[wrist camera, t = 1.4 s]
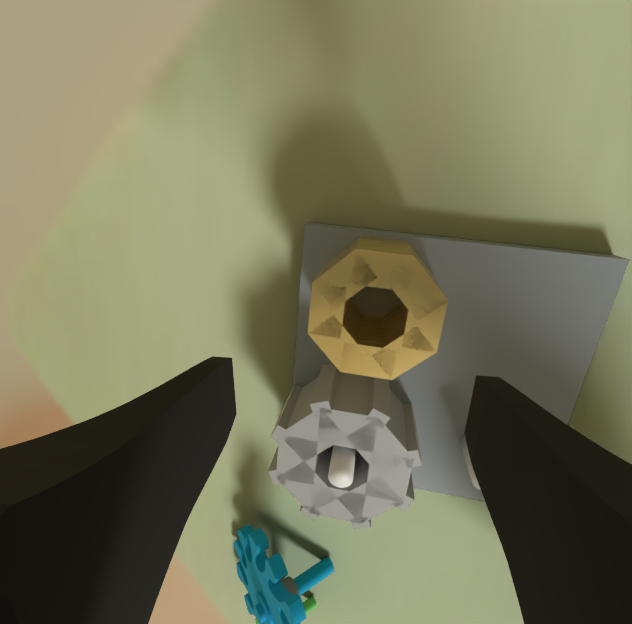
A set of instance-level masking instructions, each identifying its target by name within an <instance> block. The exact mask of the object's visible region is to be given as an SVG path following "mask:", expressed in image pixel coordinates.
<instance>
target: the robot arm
mask: <svg viewBox="0 0 632 624" xmlns="http://www.w3.org/2000/svg"><path fill="white" fill-rule="evenodd" d="M235 416H236V402H235V390H234V378H233V366H232V358H225V357H211V358H209V359H207V360H205V361H203V362H201V363H199V364H197V365H195V366H194V367H192V368H190V369H188V370H187V371H185V372H183V373H182V374H180V375H178V376H176V377H175V378H173V379H171V380H169V381H168V382H166V383H164V384H162V385H160V386H159V387H157V388H155V389H153V390H151V391H149V392H147V393H145V394H143V395H141V396H139V397H137V398H136V399H134V400H132V401H130V402H128V403H126V404H124V405H121V406H119V407H117V408H115V409H113V410H111V411H108V412H106V413H103V414H101V415H99V416H96V417H94V418H92V419H89V420H87V421H84V422H82V423H79V424H76V425H73V426H70V427H68V428H65V429H62V430H59V431H56V432H53V433H51V434H48V435H45V436H42V437H39V438H36V439H33V440H29V441H26V442H23V443H19V444H16V445H13V446H9V447H5V448H2V449H0V624H148V622H149V619H150V616H151V614H152V611H153V608H154V605H155V602H156V599H157V597H158V594H159V591H160V589H161V586H162V583H163V581H164V578H165V575H166V572H167V570H168V567H169V564H170V561H171V559H172V557H173V554H174V551H175V549H176V546H177V544H178V541H179V539H180V536H181V534H182V531H183V529H184V526H185V524H186V522H187V519H188V517H189V515H190V513H191V511H192V509H193V507H194V505H195V503H196V501H197V499H198V497H199V495H200V493H201V491H202V489H203V487H204V485H205V483H206V481H207V479H208V478H209V476H210V474H211V472H212V470H213V468H214V466H215V464H216V462H217V460H218V458H219V456H220V454H221V452H222V450H223V448H224V446H225V444H226V442H227V439H228V436H229V434H230V431H231V428H232V425H233V422H234V419H235ZM464 434H465V439H466V443H467V448H468V452H469V456H470V460H471V464H472V467H473V470H474V473H475V476H476V478H477V481H478V484H479V486H480V489H481V492H482V494H483V497H484V499H485V502H486V505H487V507H488V510H489V512H490V515H491V518H492V520H493V523H494V525H495V528H496V531H497V533H498V536H499V538H500V541H501V544H502V547H503V550H504V553H505V556H506V558H507V561H508V565H509V568H510V572H511V576H512V579H513V583H514V586H515V590H516V594H517V597H518V601H519V605H520V608H521V612H522V616H523V620H524V624H632V465H631V464H630V463H628V462H626V461H624V460H623V459H621V458H619V457H617V456H615V455H614V454H612V453H610V452H609V451H607V450H605V449H604V448H602V447H601V446H599V445H597V444H596V443H594V442H593V441H591V440H590V439H588V438H586V437H585V436H583V435H582V434H580V433H579V432H577V431H576V430H574V429H573V428H571V427H570V426H568V425H567V424H565V423H564V422H562V421H561V420H559V419H558V418H556V417H555V416H554V415H552V414H551V413H549V412H548V411H547V410H545V409H544V408H542V407H541V406H540V405H538V404H537V403H535V402H534V401H533V400H531V399H530V398H529V397H527V396H526V395H524V394H523V393H522V392H520V391H519V390H518V389H516V388H515V387H513V386H512V385H510V384H509V383H507V382H506V381H504V380H503V379H501V378H499V377H493V376H478V375H476V378H475V383H474V388H473V393H472V398H471V403H470V408H469V413H468V418H467V422H466V427H465V432H464Z"/></svg>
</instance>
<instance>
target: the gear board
mask: <svg viewBox="0 0 632 624" xmlns="http://www.w3.org/2000/svg"><path fill="white" fill-rule="evenodd" d="M360 236H366V237H375V238H384V239H394V240H403V241H408V243H409V244H410V245H411V247H412V248H413V249H414V251H415V252H416V253H417V255H418V256H419V257H420V258H421V260H422V261H423V262H424V264H425V265H426V266H427V268H428V269H429V270H430V272H431V273H432V274H433V276H434V277H435V279H436V280H437V282H438V284H439V286H440V287H441V289H442V291H443V292H444V294H445V296H446V298H447V299H448V304H447V308H446V313H445V317H444V322H443V327H442V331H441V336H440V340H439V345H438V350H437V353H435V354H433V355H432V356H430V357H429V358H427V359H425V360H424V361H422V362H420V363H419V364H417V365H416V366H414V367H412V368H411V369H409V370H408V371H406V372H404V373H403V374H401V375H399V376H398V377H396V378H395V379H393V380H388V379H382V378H376V377H369V376H363V375H356V374H350V373H344V372H340V371H339V370H338V369H337V367H336V366H335V365H334V364H333V363H332V362H331V360H330V359H329V358H328V357H327V356H326V355H325V353H324V352H323V351H322V350H321V349H320V347H319V346H318V345H317V344H316V343H315V342H314V340H313V339H312V338H311V337H310V336H309V335H308V324H309V312H310V300H311V289H312V282H313V281H314V280H315V278H316V277H317V275H318V274H319V272H320V271H321V270H322V268H323V267H324V265H325V264H326V263H327V262H329V261H330V260H331V259H332V258H334V257H335V256H336V255H337V254H339V253H340V252H341V251H342V250H344V249H345V248H346V247H347V246H349V245H350V244H351V243H352V242H354V241H355V240H356V239H357V238H359V237H360ZM628 262H629V259H625V258H622V257H619V256H616V255H609V254H600V253H591V252H581V251H572V250H563V249H553V248H544V247H534V246H525V245H516V244H506V243H497V242H488V241H478V240H469V239H460V238H450V237H441V236H432V235H422V234H413V233H403V232H394V231H385V230H375V229H366V228H357V227H347V226H338V225H329V224H319V223H310V222H309V223H307V224H305V225H304V237H303V251H302V264H301V278H300V291H299V305H298V318H297V332H296V345H295V359H294V372H293V386H292V390H291V392H290V394H289V396H288V398H287V400H286V403H285V405H284V407H283V409H282V412H281V414H280V416H279V418H278V421H277V423H276V425H275V428H274V430H273V432H272V434H271V437H270V438H271V439H273V440H275V441H277V442H278V448H277V450H276V453H275V455H274V458H273V460H272V463H271V465H270V468H269V470H268V472H269V474H270V477H271V479H272V482H273V484H274V485H280V484H283V486H284V487H285V488H286V489H287V490H288V491H289V492H290V493H291V494H292V495H293V496H294V497H295V498H296V499H297V500H298V502H299V503H300V504H301V509H300V513H302V514H303V515H305V516H307V517H309V518H311V519H313V520H314V521H315V519H316V518H317V517H318V515H321V516H325V517H330V518H335V519H340V520H345V521H349V522H352V525H353V528H354V529H357V528H368V527H371V519H372V518H374V517H376V516H378V515H380V514H382V513H384V512H387V511H389V510H391V509H393V508H395V507H397V508H399V509H401V510H403V511H405V510H406V509H407V508H408V507H409V505H410V504H411V503H412V502H413V501H414V491H413V488H417V489H422V490H427V491H432V492H438V493H443V494H448V495H453V496H459V497H464V498H469V499H474V500H479V501H485V499H484V497H483V494H482V492H481V489H480V486H479V484H478V481H477V478H476V476H475V473H474V470H473V467H472V464H471V460H470V456H469V452H468V448H467V443H466V439H465V434H464V432H465V427H466V422H467V418H468V413H469V408H470V403H471V398H472V393H473V388H474V383H475V378H476V375H478V376H493V377H499V378H501V379H503V380H504V381H506V382H507V383H509V384H510V385H512V386H513V387H515V388H516V389H518V390H519V391H520V392H522V393H523V394H524V395H526V396H527V397H529V398H530V399H531V400H533V401H534V402H535V403H537V404H538V405H540V406H541V407H542V408H544V409H545V410H547V411H548V412H549V413H551V414H552V415H554V416H555V417H556V418H558V419H559V420H561V421H562V422H564V423H565V424H567V425H568V422H569V419H570V417H571V414H572V411H573V409H574V406H575V403H576V401H577V398H578V395H579V393H580V390H581V387H582V385H583V382H584V379H585V377H586V374H587V371H588V369H589V366H590V363H591V361H592V358H593V355H594V353H595V350H596V347H597V345H598V342H599V339H600V337H601V334H602V331H603V329H604V326H605V323H606V321H607V318H608V315H609V313H610V310H611V307H612V305H613V302H614V299H615V297H616V294H617V291H618V289H619V286H620V283H621V281H622V278H623V275H624V273H625V270H626V267H627V265H628ZM350 300H351V301H352V302H353V303H354V304H355V306H356V307H357V308H358V309H359V311H360V312H361V313H362V314H365V315H373V316H380V317H383V316H385V315H386V314H388V313H389V312H390V311H392V310H393V309H395V308H396V307H398V306H399V305H400V298H399V297H398V296H397V295H396V293H395V292H394V291H393V290H392V289H384V288H376V287H368V286H365V287H364V288H363V289H361V290H360V291H359V292H357V293H356V294H354V295H353V296H352V297H350Z"/></svg>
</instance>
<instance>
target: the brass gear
mask: <svg viewBox="0 0 632 624" xmlns="http://www.w3.org/2000/svg"><path fill="white" fill-rule="evenodd" d="M365 286H368V287H376V288H384V289H392V290H393V291H394V292H395V293H396V295H397V296H398V297H399V298H400V305H399V306H398V307H396V308H395V309H393V310H392V311H390V312H389V313H388V314H386V315H385V316H383V317H380V316H373V315H365V314H362V313H361V312H360V311H359V309H358V308H357V307H356V306H355V304H354V303H353V302H352V301H351V300H350V297H352V296H353V295H354V294H356V293H357V292H359V291H360V290H361V289H363V288H364V287H365ZM447 304H448V299H447V298H446V296H445V294H444V292H443V291H442V289H441V287H440V286H439V284H438V282H437V280H436V279H435V277H434V276H433V274H432V273H431V272H430V270H429V269H428V268H427V266H426V265H425V264H424V262H423V261H422V260H421V258H420V257H419V256H418V255H417V253H416V252H415V251H414V249H413V248H412V247H411V245H410V244H409V243H408V241H403V240H394V239H384V238H375V237H366V236H360V237H359V238H357V239H356V240H355V241H354V242H352V243H351V244H350V245H349V246H347V247H346V248H345V249H344V250H342V251H341V252H340V253H339V254H337V255H336V256H335V257H334V258H332V259H331V260H330V261H329V262H327V263H326V264H325V265H324V267H323V268H322V270H321V271H320V272H319V274H318V275H317V277H316V278H315V280H314V281H313V282H312V289H311V300H310V312H309V324H308V335H309V336H310V337H311V338H312V339H313V340H314V342H315V343H316V344H317V345H318V346H319V347H320V349H321V350H322V351H323V352H324V353H325V355H326V356H327V357H328V358H329V359H330V360H331V362H332V363H333V364H334V365H335V366H336V367H337V369H338V370H339V371H340V372H344V373H350V374H356V375H363V376H369V377H376V378H382V379H388V380H393V379H395V378H396V377H398V376H399V375H401V374H403V373H404V372H406V371H408V370H409V369H411V368H412V367H414V366H416V365H417V364H419V363H420V362H422V361H424V360H425V359H427V358H429V357H430V356H432V355H433V354H435V353H437V350H438V345H439V340H440V336H441V331H442V327H443V322H444V317H445V313H446V308H447Z"/></svg>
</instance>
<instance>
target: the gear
mask: <svg viewBox="0 0 632 624" xmlns="http://www.w3.org/2000/svg"><path fill="white" fill-rule="evenodd" d="M237 532H238V536H239V539H238V540H236V541H235V542H234V548H235V551H236V553H237V555H238V557H239V559H240V562H238V563H237V572H238V576H239V578H240V580H241V581H242V582H243V584H244V585H245V587H246V589H247V590H248V594H246V595H244V597H245V601H246V605H247V609H248V611H249V613H250V614H251V615H252V614H253V615H255V616H256V624H300V622H302V621H303V620H304V619H306V614H307V613H309V612H310V611H311V610H313V609H314V608H315V607H317V605H316V601H315V599H314V598H313V597H310V598H309V599H307V600H306V601H305V602H303V603H302V600H301V597H300V595H301V594H303V593H304V592H306V591H307V590H308V589H310V588H311V587H313V586H314V585H315V584H317V583H318V582H320V581H321V580H323V579H324V578H325V577H327V576H328V575H330V574H331V573H332V572H334V567H333V564H332V562H331V560H330V559H329V558H328V557H326V558H324V559H323V560H321V561H320V562H318V563H317V564H315V565H314V566H312V567H311V568H310V569H308V570H307V571H305V572H304V573H302V574H301V575H299V576H298V577H296V578H295V579H292V578H291V577H290V576H289V577H287V578H286V579H284V580H283V581H281V580H280V579H282V578H283V577H285V576H286V575H287V569H286V566H285V564H284V562H283V560H282V558H281V556H280V554H279V553H276V554H274V555H273V556H271V557H270V558H268V559H267V556H266V551H265V550H266V549H267V548H269V542H268V539H267V537H266V535H265V534H264V532H263V531H262V530H261V528H259V529H257V530H255V531H254V528H253V527H252V526H251V525H246V526H244V527H242V528H240V529H238V530H237Z"/></svg>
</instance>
